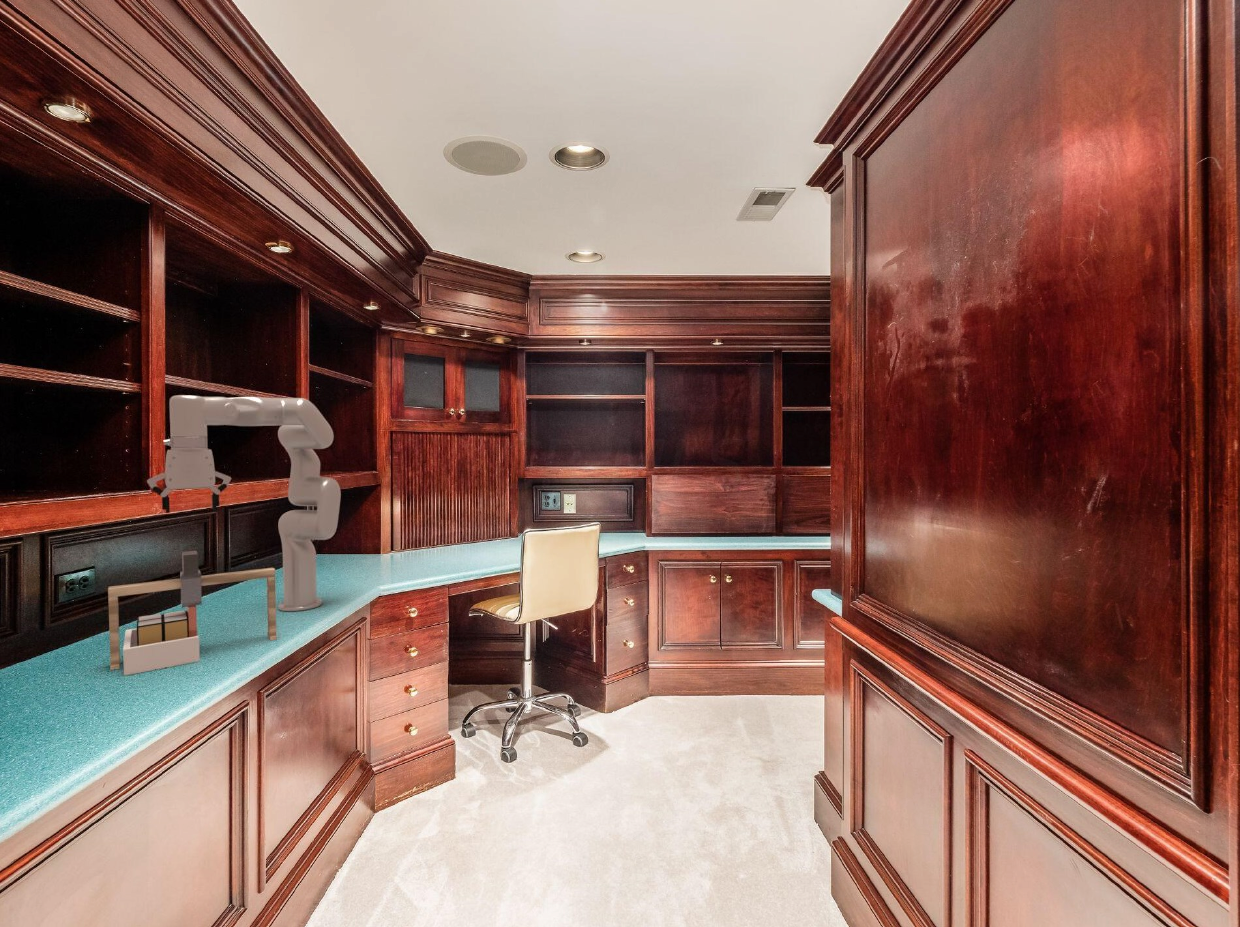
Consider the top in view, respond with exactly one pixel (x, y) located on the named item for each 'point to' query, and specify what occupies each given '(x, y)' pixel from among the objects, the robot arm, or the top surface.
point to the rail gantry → (176, 584)
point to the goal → (157, 653)
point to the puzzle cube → (162, 627)
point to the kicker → (191, 588)
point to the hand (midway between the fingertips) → (191, 511)
